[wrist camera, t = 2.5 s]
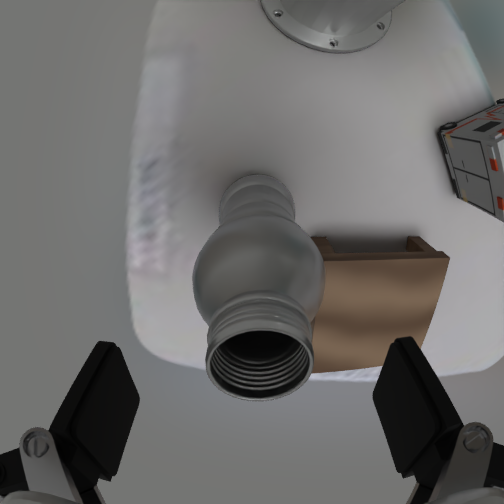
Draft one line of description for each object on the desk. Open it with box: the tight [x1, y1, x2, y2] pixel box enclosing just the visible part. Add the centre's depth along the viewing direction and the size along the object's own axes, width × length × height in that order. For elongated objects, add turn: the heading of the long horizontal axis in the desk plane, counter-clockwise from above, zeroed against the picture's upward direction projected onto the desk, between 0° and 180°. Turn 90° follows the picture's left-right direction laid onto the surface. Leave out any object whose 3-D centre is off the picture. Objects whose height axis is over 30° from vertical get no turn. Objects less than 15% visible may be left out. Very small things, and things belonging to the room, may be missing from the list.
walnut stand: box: [311, 236, 450, 373], centre depth 28 cm, size 13×13×6 cm
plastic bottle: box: [192, 174, 326, 401], centre depth 18 cm, size 6×7×20 cm
